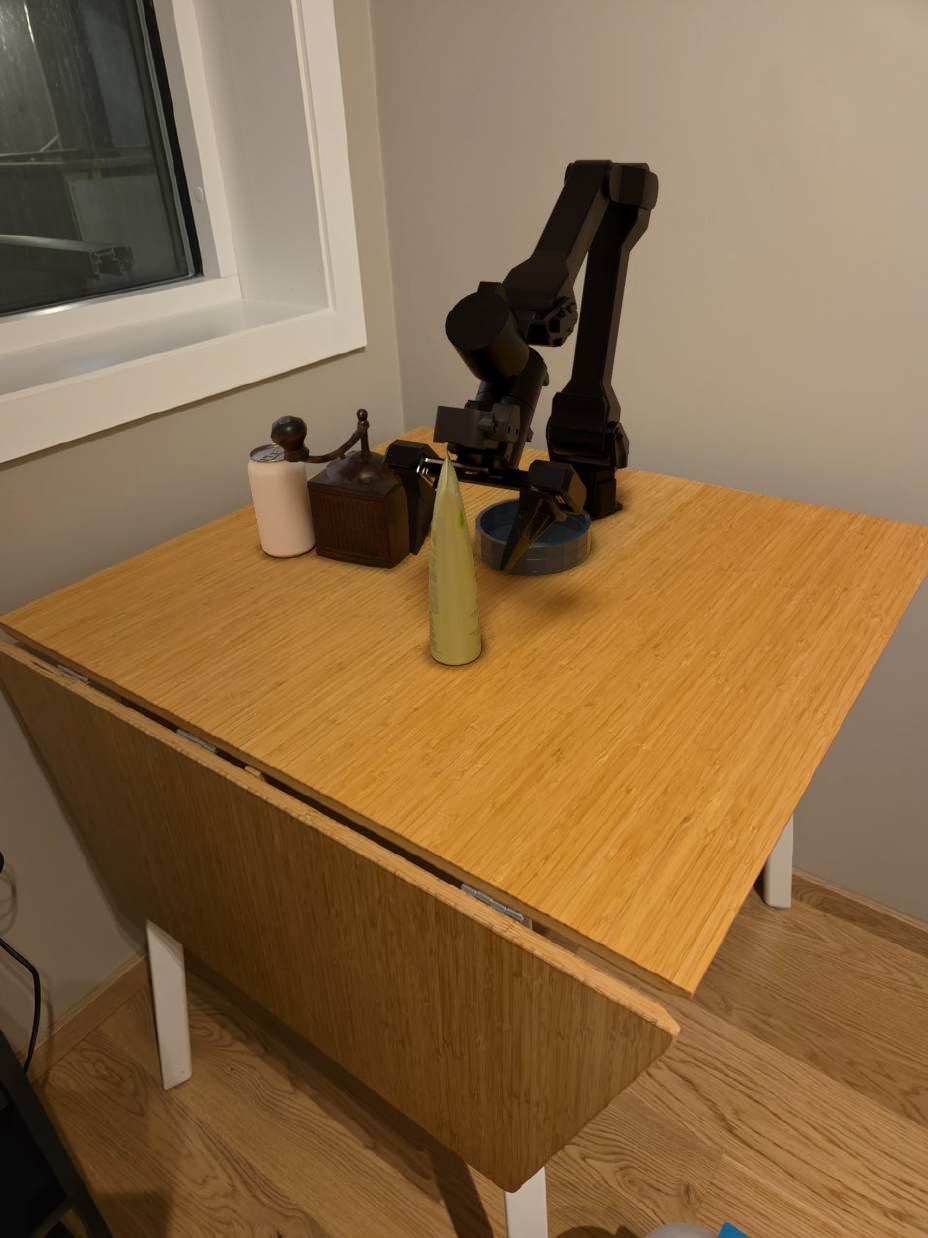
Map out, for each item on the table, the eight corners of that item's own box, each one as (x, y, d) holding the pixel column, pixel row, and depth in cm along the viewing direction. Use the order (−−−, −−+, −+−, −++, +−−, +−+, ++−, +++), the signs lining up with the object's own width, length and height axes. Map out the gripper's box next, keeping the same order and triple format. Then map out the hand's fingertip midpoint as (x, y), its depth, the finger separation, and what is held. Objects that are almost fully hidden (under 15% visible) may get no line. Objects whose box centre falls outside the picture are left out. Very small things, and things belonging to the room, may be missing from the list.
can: (326, 539, 109) (313, 444, 103) (296, 562, 104) (281, 465, 98) (282, 531, 112) (267, 438, 105) (251, 554, 107) (233, 458, 100)
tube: (497, 654, 87) (490, 463, 76) (457, 676, 84) (445, 480, 73) (457, 632, 90) (447, 446, 80) (418, 652, 87) (402, 463, 77)
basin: (454, 544, 107) (452, 517, 105) (540, 513, 113) (540, 487, 111) (523, 587, 97) (523, 558, 95) (614, 550, 103) (615, 523, 102)
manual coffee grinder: (354, 518, 114) (338, 377, 104) (433, 531, 110) (423, 385, 100) (285, 574, 102) (259, 421, 93) (370, 591, 98) (352, 433, 88)
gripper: (382, 353, 81) (328, 515, 79) (577, 373, 74) (525, 552, 71) (429, 410, 91) (383, 555, 89) (606, 433, 84) (561, 591, 81)
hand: (456, 562), depth 82 cm, fingers open, 9 cm apart
